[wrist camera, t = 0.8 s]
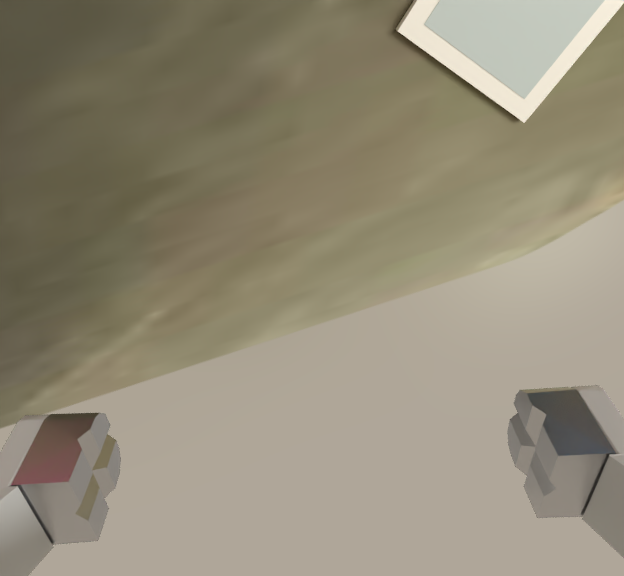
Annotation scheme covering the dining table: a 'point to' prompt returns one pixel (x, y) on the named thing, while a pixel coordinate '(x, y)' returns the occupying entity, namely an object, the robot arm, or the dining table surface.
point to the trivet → (507, 42)
